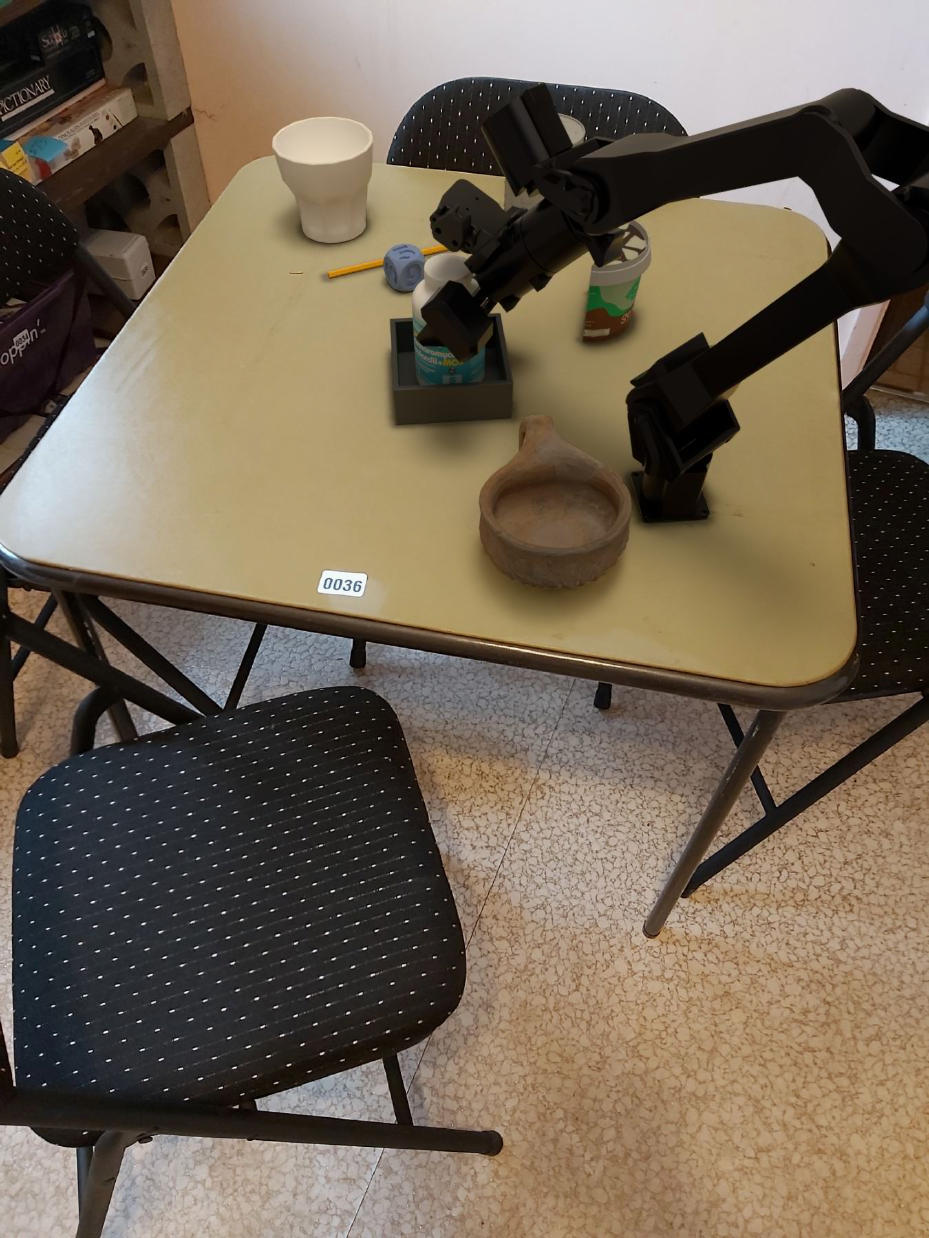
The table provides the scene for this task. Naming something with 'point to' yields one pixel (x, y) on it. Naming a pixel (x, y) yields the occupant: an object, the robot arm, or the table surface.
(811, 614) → the table surface
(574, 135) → the marbled stone cylinder
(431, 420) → the dark gray square tray
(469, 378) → the pill bottle
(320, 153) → the cup
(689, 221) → the table surface
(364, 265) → the pencil
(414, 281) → the decorative dice
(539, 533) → the bowl
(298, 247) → the table surface
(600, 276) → the food container
